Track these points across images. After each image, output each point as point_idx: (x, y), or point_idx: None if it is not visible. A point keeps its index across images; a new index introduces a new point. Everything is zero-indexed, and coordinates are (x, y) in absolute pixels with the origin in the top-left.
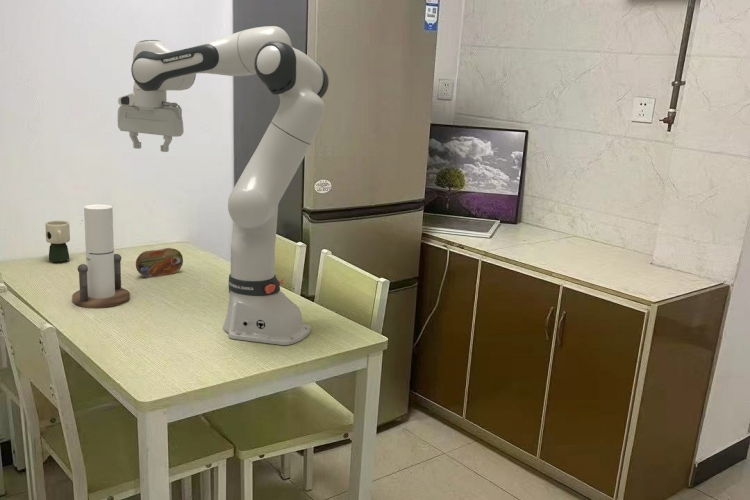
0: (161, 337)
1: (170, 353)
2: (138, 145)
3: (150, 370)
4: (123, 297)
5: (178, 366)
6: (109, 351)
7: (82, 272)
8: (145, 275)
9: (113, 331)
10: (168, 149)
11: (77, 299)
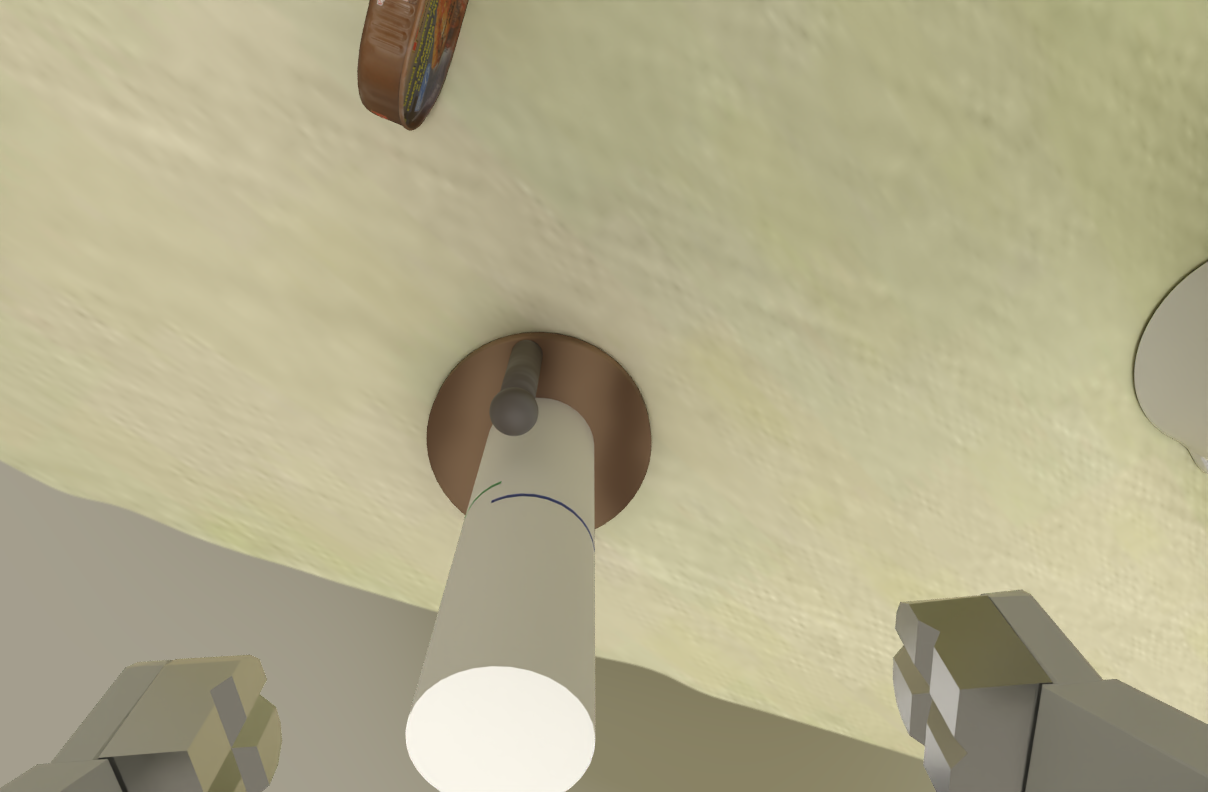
0: (984, 576)
1: (1077, 642)
2: (235, 759)
3: None
4: (639, 423)
5: (1143, 687)
6: None
7: None
8: (436, 87)
9: (817, 617)
10: (1039, 611)
11: None
